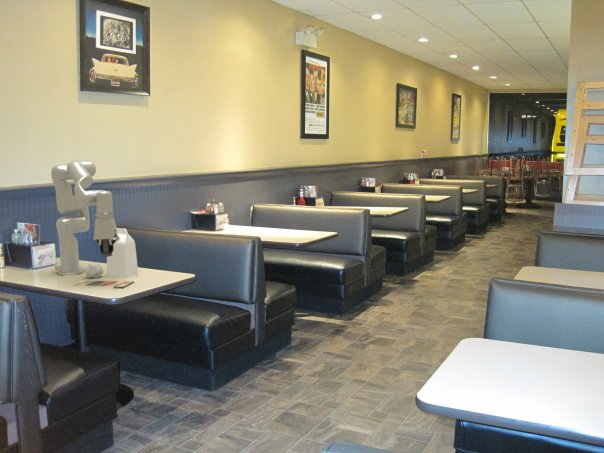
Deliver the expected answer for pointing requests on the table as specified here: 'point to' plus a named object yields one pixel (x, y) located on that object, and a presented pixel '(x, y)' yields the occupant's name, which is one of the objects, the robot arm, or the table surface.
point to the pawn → (106, 248)
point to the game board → (104, 283)
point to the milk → (122, 257)
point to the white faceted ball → (94, 271)
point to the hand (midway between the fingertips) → (107, 252)
